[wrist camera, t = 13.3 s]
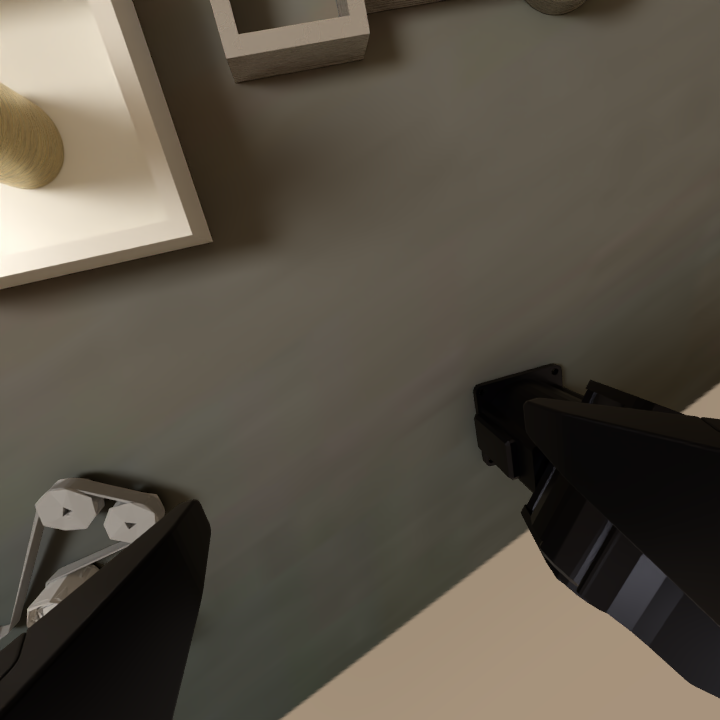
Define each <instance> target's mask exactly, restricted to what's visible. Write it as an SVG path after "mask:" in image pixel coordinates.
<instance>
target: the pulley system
mask: <svg viewBox="0 0 720 720" xmlns="http://www.w3.org/2000/svg"><path fill="white" fill-rule="evenodd" d="M104 498H107V499H111V500H116V501H117V502H116V503H115V505H114V506H113V507H112V508H109V511H108V514H107V517H106V519H105V522H104V527H105V529H106V531H107V533H108V535H109V538H110V539H112V540H117V541H121V542H119V543H116V544H114V545H112V546H110V547H107V548H105V549H103V550H101V551H98V552H96V553H94V554H91V555H89V556H87V557H85V558H82V559H80V560H78V561H76V562H73V563H71V564H69V565H67V566H64V567H62V568H60V569H58V571H57V572H56V573H55V574H54V575H53V576H52V577H51V578H50V579H49V580H48V581H47V582H46V585H45V589H44V590H43V591H42V592H41V593H40V595H39V596H38V597H37V598H36V599H35V600H34V602H33V603H32V604H31V605H30V606H29V607H28V609H27V627H31V626H32V625H33V624H34V623H35V622H37V621H38V620H39V619H40V618H41V617H43V616H44V615H45V614H46V613H48V612H49V611H50V610H51V609H52V608H54V607H55V606H56V605H57V604H58V603H60V602H61V601H62V600H63V599H64V598H66V597H67V596H68V595H69V594H71V593H72V592H73V591H74V590H75V589H77V588H78V587H79V586H80V585H81V584H83V583H84V582H85V581H86V580H87V579H89V578H90V577H91V576H92V575H94V574H95V573H96V572H97V571H98V570H99V569H98V568H97V567H96V566H95V565H91V563H93V562H95V561H98V560H100V559H102V558H104V557H106V556H108V555H111V554H113V553H115V552H117V551H119V550H121V549H123V548H126V547H127V546H129V545H130V544H131V543H132V542H134V541H135V540H136V539H137V538H138V537H140V536H141V535H142V534H143V533H144V532H146V531H147V530H148V529H149V528H150V527H152V526H153V525H154V524H155V523H157V522H158V521H159V520H160V519H161V518H163V517H164V515H165V510H164V506H163V504H162V503H161V501H160V499H159V497H158V496H157V494H150V493H144V492H139V491H135V490H130V489H126V488H122V487H117V486H113V485H108V484H104V483H100V482H95V481H91V480H90V479H83V478H68V479H61V480H58V481H57V482H56V483H55V484H54V485H53V486H52V487H51V488H50V489H49V490H48V491H47V492H46V493H45V494H44V495H43V496H42V497H41V498H40V499H39V500H38V502H37V503H36V504H35V507H36V515H35V519H34V523H33V528H32V532H31V536H30V541H29V545H28V549H27V554H26V558H25V562H24V567H23V571H22V576H21V580H20V584H19V589H18V593H17V597H16V602H15V606H14V610H13V615H12V619H11V623H10V624H9V625H6V626H3V627H1V626H0V639H1V638H3V637H4V636H5V635H7V634H8V633H9V632H10V631H11V630H12V629H13V628H14V626H15V625H16V624H17V623H18V622H19V621H20V618H21V614H22V610H23V606H24V602H25V599H26V595H27V591H28V587H29V583H30V579H31V576H32V572H33V568H34V564H35V560H36V556H37V553H38V549H39V545H40V541H41V537H42V533H43V530H44V526H47V527H52V528H56V529H61V530H65V531H66V530H77V529H87V527H88V526H89V524H90V523H91V522H92V520H93V519H94V517H95V516H97V515H98V514H99V512H100V511H101V510H102V508H103V507H104V506H105V503H104Z"/></svg>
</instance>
